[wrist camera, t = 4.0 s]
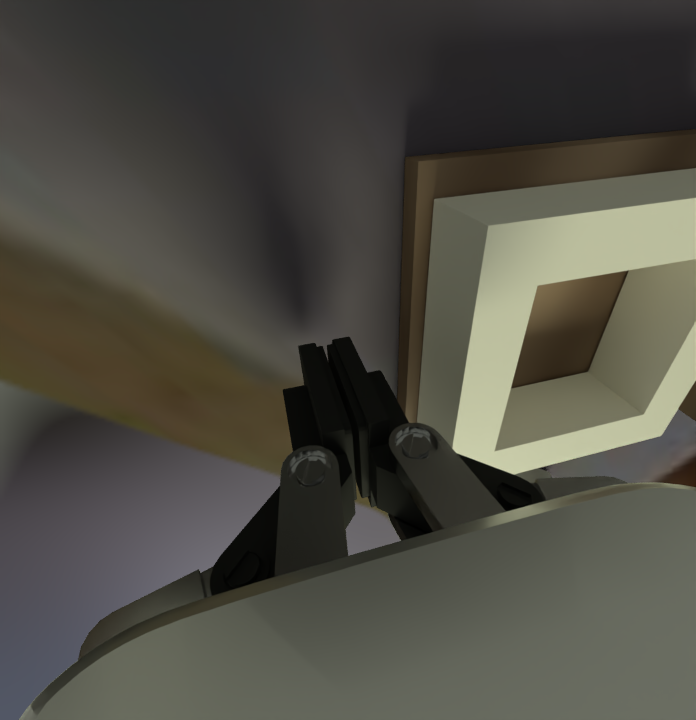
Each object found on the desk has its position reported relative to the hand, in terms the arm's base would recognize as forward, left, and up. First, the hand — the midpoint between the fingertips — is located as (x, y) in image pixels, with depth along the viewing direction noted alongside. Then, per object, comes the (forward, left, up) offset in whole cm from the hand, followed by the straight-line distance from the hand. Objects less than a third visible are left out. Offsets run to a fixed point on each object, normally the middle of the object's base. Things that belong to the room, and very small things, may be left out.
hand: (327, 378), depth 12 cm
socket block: (-9, 0, -1) cm, 9 cm away
